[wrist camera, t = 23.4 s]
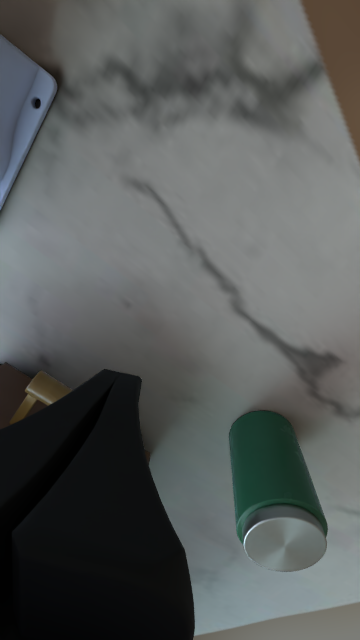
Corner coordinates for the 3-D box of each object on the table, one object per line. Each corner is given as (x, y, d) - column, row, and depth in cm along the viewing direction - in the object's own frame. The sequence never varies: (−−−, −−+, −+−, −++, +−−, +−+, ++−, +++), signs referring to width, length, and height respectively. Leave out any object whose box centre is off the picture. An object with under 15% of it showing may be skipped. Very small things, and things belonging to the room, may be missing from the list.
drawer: (31, 318, 21) (-46, 373, 15) (183, 419, 23) (174, 505, 17) (-56, 464, 27) (-138, 549, 20) (72, 535, 29) (33, 632, 22)
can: (245, 401, 23) (262, 501, 16) (306, 423, 23) (352, 532, 16) (218, 448, 25) (223, 559, 17) (276, 469, 25) (304, 586, 18)
